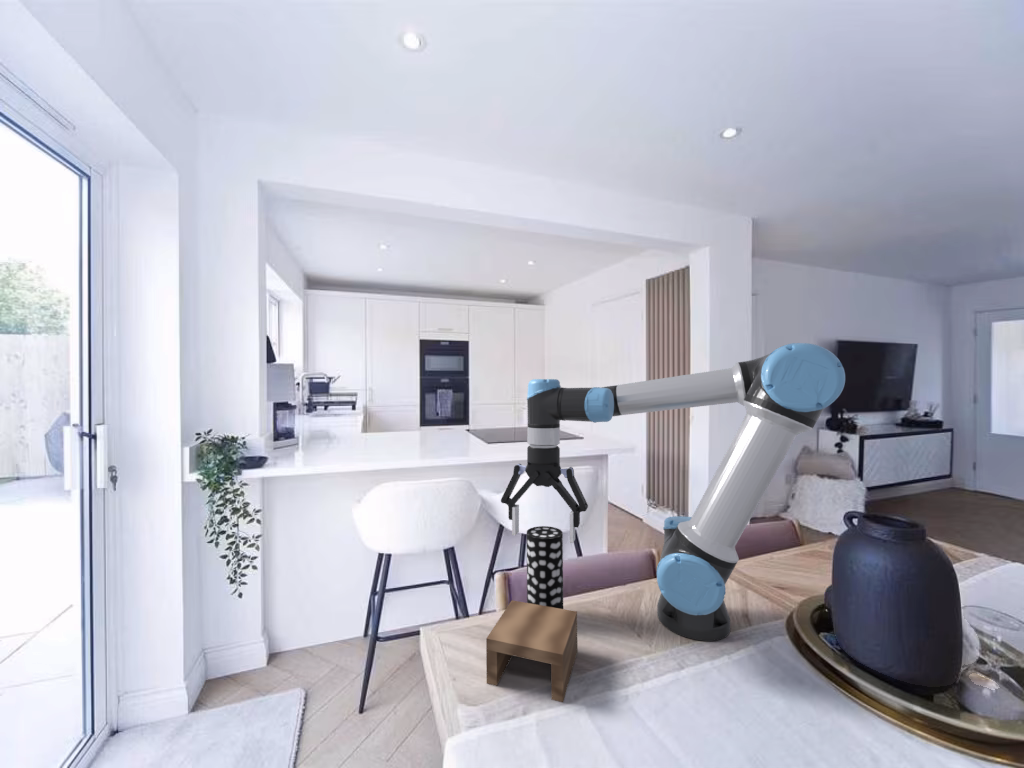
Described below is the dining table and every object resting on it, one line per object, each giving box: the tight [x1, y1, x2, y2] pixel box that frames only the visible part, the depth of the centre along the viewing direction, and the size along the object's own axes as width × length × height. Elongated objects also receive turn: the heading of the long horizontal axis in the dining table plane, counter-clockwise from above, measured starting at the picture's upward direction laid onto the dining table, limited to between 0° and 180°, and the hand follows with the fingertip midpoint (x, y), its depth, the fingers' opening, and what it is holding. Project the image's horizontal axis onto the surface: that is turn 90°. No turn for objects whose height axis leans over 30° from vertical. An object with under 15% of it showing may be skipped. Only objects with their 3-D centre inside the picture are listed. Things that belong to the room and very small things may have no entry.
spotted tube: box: [526, 525, 564, 609], centre depth 93 cm, size 8×8×20 cm
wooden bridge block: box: [485, 599, 578, 703], centre depth 77 cm, size 14×14×8 cm
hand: (543, 537), depth 93 cm, fingers open, 13 cm apart
